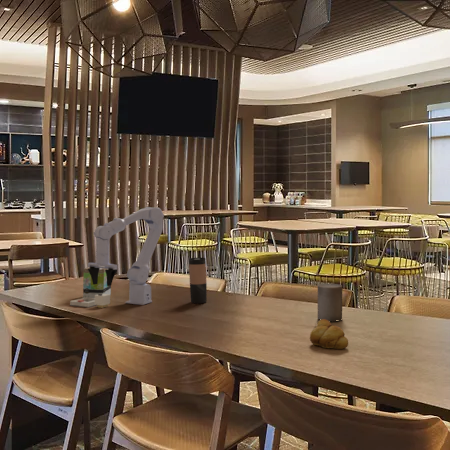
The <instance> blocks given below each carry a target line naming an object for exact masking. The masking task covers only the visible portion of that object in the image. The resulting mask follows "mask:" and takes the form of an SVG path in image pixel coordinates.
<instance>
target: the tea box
mask: <svg viewBox="0 0 450 450" xmlns="http://www.w3.org/2000/svg"><path fill="white" fill-rule="evenodd" d="M97 267H103V266H97ZM89 268H90V267H88V266H87V267H85V268H83V283H82V285H83V286H82V287H83V288H82V291H83V292H82V298H85V297H89V298H95V295H98V294H99V293H102V294H110V296H111V295H112V290H111V289H112V285H111V286H107V276H106V272H105V270H108V269H105V268H100V269H99V273H98V283H97V284H93V282H92V278H91V275H90V273H89V271H88V269H89Z"/></svg>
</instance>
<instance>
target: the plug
mask: <svg viewBox="0 0 450 450" xmlns="http://www.w3.org/2000/svg"><path fill="white" fill-rule="evenodd" d="M109 304H111V295H110V294H102V293H99V294H98V295H95V305H97V306H96V307H97V308H99V309H100V308H102V309H103V308H107V307H109V306H108V305H109Z"/></svg>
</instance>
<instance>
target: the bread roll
mask: <svg viewBox="0 0 450 450" xmlns="http://www.w3.org/2000/svg"><path fill="white" fill-rule="evenodd" d="M345 335H346V334H345V332H344V330H343V329H342V328H341V327H339V326H337V325H336V324H335V325H333V324H332V322H329V321H328V320H326V319H322V320H318V321H317V324H316V327H314V328H313V329H312V330H311V332H310V335H309V341H310V342H311V344H312V345H314V346H317V347H318V346H319V347H322V348H323V349H324V348H325V349H337V350H343V349H346V348H348V346H349V340H348V338H347V337H346V336H345Z"/></svg>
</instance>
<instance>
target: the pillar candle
mask: <svg viewBox="0 0 450 450" xmlns="http://www.w3.org/2000/svg"><path fill="white" fill-rule="evenodd" d="M318 319H321V320H322V319H326V320H328V321H336V320H341V319H342V320H343V285H342V284H338V283H331V282H330V283H320V284H317V320H318Z"/></svg>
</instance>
